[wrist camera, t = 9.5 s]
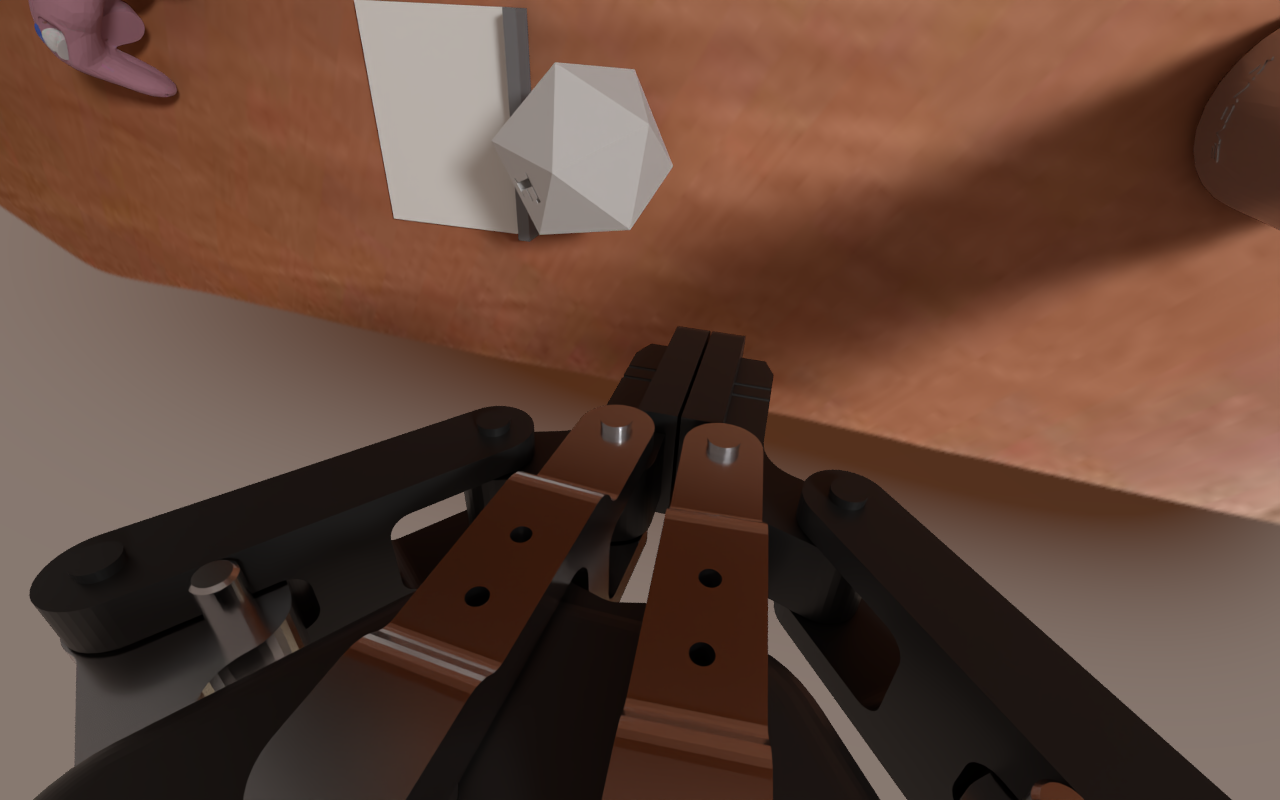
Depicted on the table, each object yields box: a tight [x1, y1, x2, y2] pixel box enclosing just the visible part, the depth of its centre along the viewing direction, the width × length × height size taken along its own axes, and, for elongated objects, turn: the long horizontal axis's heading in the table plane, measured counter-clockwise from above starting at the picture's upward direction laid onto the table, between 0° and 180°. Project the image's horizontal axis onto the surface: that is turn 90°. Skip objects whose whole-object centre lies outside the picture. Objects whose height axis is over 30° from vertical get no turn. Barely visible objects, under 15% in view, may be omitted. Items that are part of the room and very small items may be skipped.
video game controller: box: [29, 0, 177, 97], centre depth 36 cm, size 10×5×7 cm, turn 141°
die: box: [491, 62, 673, 235], centre depth 32 cm, size 8×9×10 cm
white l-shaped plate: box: [354, 0, 538, 242], centre depth 38 cm, size 11×13×2 cm
